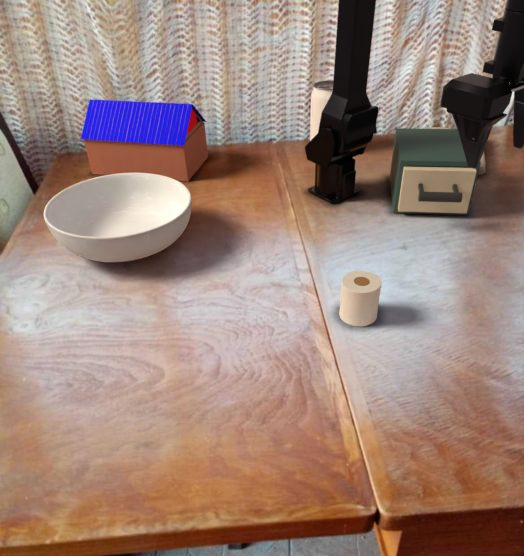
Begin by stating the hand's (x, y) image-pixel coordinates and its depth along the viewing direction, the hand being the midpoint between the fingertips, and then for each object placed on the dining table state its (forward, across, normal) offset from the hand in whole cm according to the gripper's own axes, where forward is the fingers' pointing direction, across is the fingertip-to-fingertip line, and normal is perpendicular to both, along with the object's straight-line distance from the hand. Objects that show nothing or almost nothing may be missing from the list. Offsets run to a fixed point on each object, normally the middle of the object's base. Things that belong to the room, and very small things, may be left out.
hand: (495, 157), depth 66 cm
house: (+15, -18, +60) cm, 64 cm away
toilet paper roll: (+14, -21, +1) cm, 26 cm away
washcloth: (+15, +27, +24) cm, 39 cm away
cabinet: (+14, +11, +17) cm, 25 cm away
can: (+15, +12, +43) cm, 47 cm away
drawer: (+13, +8, +14) cm, 21 cm away
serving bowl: (+15, -35, +36) cm, 52 cm away
